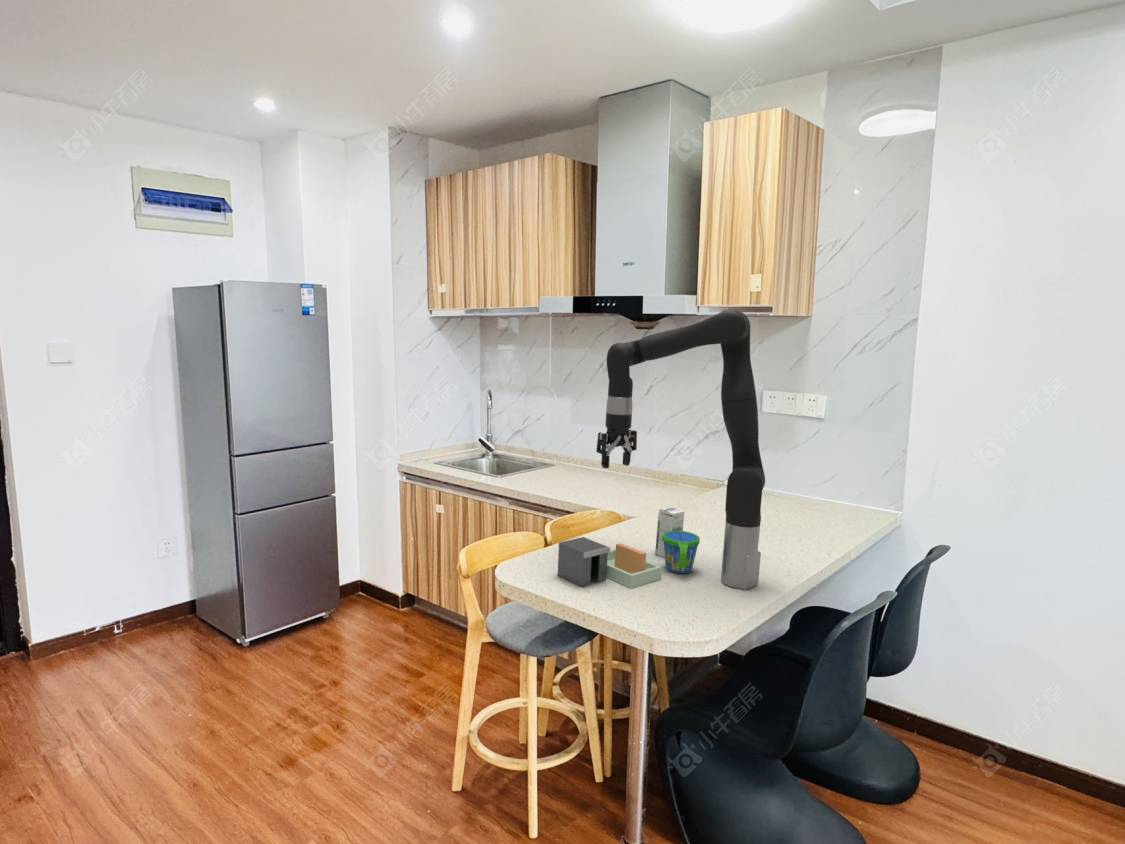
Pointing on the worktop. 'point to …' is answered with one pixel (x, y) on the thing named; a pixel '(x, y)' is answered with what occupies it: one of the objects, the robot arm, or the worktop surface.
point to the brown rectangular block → (629, 559)
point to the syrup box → (668, 526)
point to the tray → (635, 579)
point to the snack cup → (680, 550)
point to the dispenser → (582, 561)
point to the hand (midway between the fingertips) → (615, 466)
